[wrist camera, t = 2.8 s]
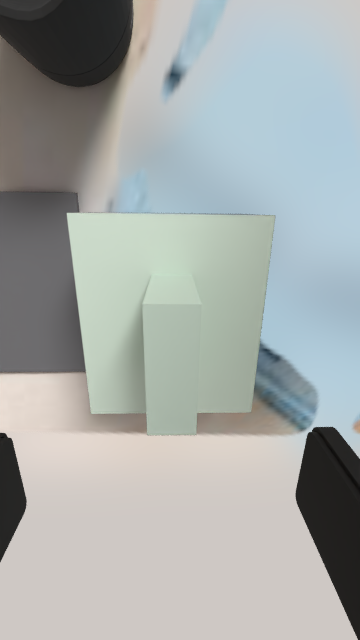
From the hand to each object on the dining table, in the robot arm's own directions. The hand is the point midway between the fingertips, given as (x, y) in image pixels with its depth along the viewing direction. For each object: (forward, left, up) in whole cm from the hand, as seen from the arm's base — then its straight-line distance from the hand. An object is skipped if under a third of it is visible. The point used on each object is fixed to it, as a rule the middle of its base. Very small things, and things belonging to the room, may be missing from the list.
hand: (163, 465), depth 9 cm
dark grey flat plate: (+15, 0, -20) cm, 25 cm away
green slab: (0, 0, -13) cm, 13 cm away
